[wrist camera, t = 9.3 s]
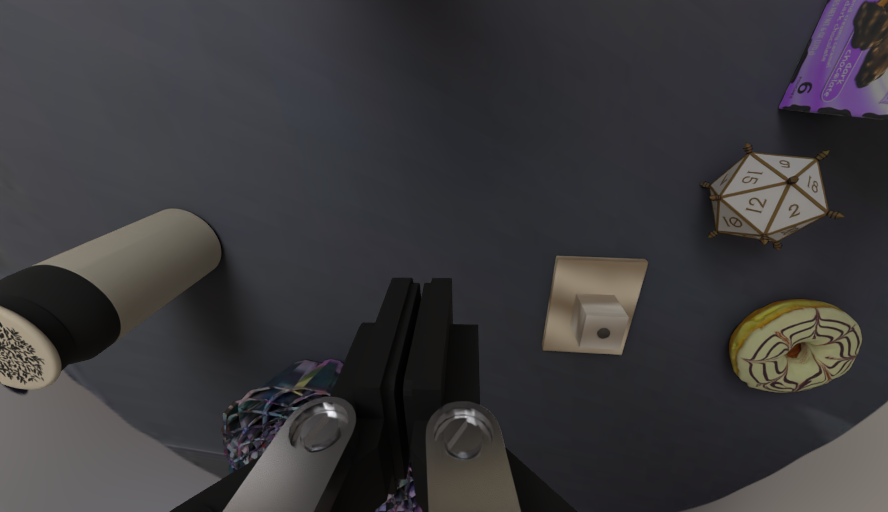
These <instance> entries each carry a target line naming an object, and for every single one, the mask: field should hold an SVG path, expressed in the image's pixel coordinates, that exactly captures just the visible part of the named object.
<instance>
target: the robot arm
mask: <svg viewBox="0 0 888 512" xmlns="http://www.w3.org/2000/svg"><path fill="white" fill-rule="evenodd" d="M409 462H411V471H412V479H413V480H414V487H415V495H416V502H417V504H418V505H419V506H420V508H421V509H422V510H423V512H577V511H576V510H575V509H574V508H573V507H571V506H570V505H569V504H568V503H567V502H566V501H565V500H564V499H563V498H561V497H560V496H559V495H558V494H557V493H556V492H555V491H554V490H552V489H551V488H550V487H549V486H548V485H547V484H546V483H545V482H543V481H542V480H541V479H540V478H539V477H538V476H537V475H536V474H535V473H533V472H532V471H531V470H530V469H529V468H528V467H527V466H526V465H524V464H523V463H522V462H521V461H520V460H519V459H518V458H517V457H515V456H514V455H513V454H512V453H511V452H510V451H509V450H508V449H507V448H505V445H504V441H503V437H502V433H501V429H500V427H499V424H498V422H497V420H496V418H495V417H494V416H493V415H492V413H491V412H490V411H489V410H487V409H486V408H484V407H483V406H481V405H480V385H479V347H478V325H462V324H453V314H452V279H451V278H432V282H431V283H425V284H424V288H423V293H422V298H421V293H420V284H419V283H413V279H412V278H392V280H391V283H390V285H389V288H388V291H387V293H386V296H385V299H384V301H383V304H382V307H381V309H380V312H379V315H378V317H377V320H376V323H362V324H361V326H360V327H359V329H358V332H357V334H356V336H355V339H354V341H353V343H352V346H351V348H350V350H349V353H348V355H347V357H346V360H345V362H344V364H343V367H342V369H341V371H340V374H339V376H338V378H337V381H336V383H335V385H334V388H333V390H332V392H331V395H330V397H322V398H317V399H314V400H312V401H309V402H307V403H305V404H303V405H302V406H301V407H299V408H298V409H296V410H295V411H294V412H293V413H292V414H291V415H290V417H289V418H288V419H287V420H286V421H285V423H284V424H283V426H282V427H281V429H280V430H279V431H278V433H277V434H276V436H275V437H274V439H273V440H272V442H271V443H270V444H269V446H268V447H267V449H266V450H265V452H264V453H263V454H262V455H261V456H259V457H257V458H256V459H254V460H252V461H251V462H249V463H248V464H246V465H244V466H243V467H241V468H239V469H238V470H236V471H234V472H233V473H231V474H230V475H228V476H226V477H225V478H223V479H221V480H220V481H218V482H217V483H215V484H213V485H212V486H210V487H208V488H207V489H205V490H204V491H202V492H200V493H199V494H197V495H195V496H194V497H192V498H191V499H189V500H187V501H186V502H184V503H183V504H181V505H179V506H177V507H176V508H174V509H173V510H171V511H170V512H375V510H376V509H378V508H379V507H380V506H381V505H382V504H383V503H385V502H386V501H387V498H388V494H392V495H396V492H397V487H398V481H399V479H402V480H406V478H407V474H408V468H409Z"/></svg>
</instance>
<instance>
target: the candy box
mask: <svg viewBox="0 0 888 512" xmlns="http://www.w3.org/2000/svg"><path fill="white" fill-rule="evenodd" d="M779 109H784V110H791V111H800V112H811V113H820V114H829V115H839V116H853V117H862V118H872V119H882V120H888V0H829V1H828V3H827V5H826V7H825V9H824V11H823V14H822V16H821V18H820V20H819V22H818V24H817V27H816V29H815V31H814V33H813V35H812V37H811V40H810V41H809V43H808V46H807V48H806V50H805V52H804V54H803V57H802V59H801V61H800V63H799V65H798V67H797V69H796V71H795V74H794V76H793V78H792V80H791V82H790V84H789V86H788V88H787V90H786V93H785V95H784V97H783V99H782V101H781V103H780V106H779Z"/></svg>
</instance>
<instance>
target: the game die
mask: <svg viewBox="0 0 888 512" xmlns="http://www.w3.org/2000/svg"><path fill="white" fill-rule="evenodd" d="M743 149H744V150H745V151H744V152H746V153H747V154H746V155H745V156H744V157H743V158H741V159H740V160H739V161H738V162H737V163H736V164H734V165H733V166H732V167H731V168H730V169H728V170H727V171H726V172H725V173H724V174H722V175H721V176H720V177H719V178H718V179H717V180H715V181H714V182H713V183H712V184H709V182H708V183H707V182H706V181H705V182H703V183H700V185H701V186H702V187H703V188H704V187H705V188H709V190H710V196H711V197H709V198H710V199H711V203H712V209H713V216H714V222H715V229H716V230H715V231H712V232H711V233H709V236H708V238H712V237H715V236H717V234H718V233H724V234H730V235H735V236H741V237H747V238H753V239H759V241H760V242H761V243H763V244H764V245H765V244H766V243H768V242H769V241H771V242H774V244H773V245H774V246H773V247H774V248H776V249H777V250H779V249H780V248H781V246H782V245H781V243H780V242H779V241H780V240H781V239H783V238H785V237H787V236H789V235H791V234H793V233H794V232H796V231H798V230H800V229H802V228H804V227H805V226H807V225H809V224H811V223H813V222H815V221H817V220H818V219H820V218H822V217H824V216H826V215H828V216H830V218H831V217H832V218H834V219H836V218H841V217H844V216H843V215H841V214H840V212H835V211H829V209H828V204H827V200H826V195H825V190H824V186H823V181H822V176H821V172H820V167H819V162H818V161H819V160H821V159H824V158H825V157H828V156H827V155H828V153H829V151H830V150H828V151H824V152H820V153H819V154H817V156H816V157H815V158H807V157H797V156H787V155H776V154H766V153H756V152H752V149H753V148H752V145H749V144H748V143H747V142H746V144H745V147H744V148H743Z"/></svg>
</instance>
